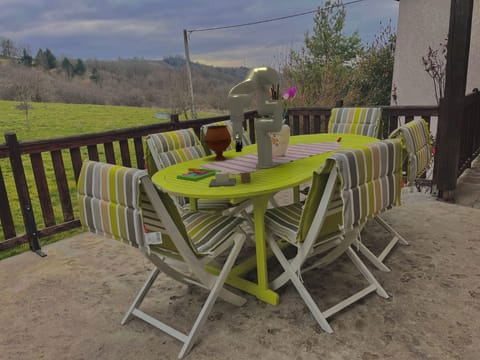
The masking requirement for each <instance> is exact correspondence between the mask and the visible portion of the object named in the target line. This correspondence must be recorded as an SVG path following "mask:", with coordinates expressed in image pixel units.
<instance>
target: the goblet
mask: <svg viewBox="0 0 480 360" xmlns="http://www.w3.org/2000/svg"><path fill="white" fill-rule="evenodd" d="M206 128H207V129H206V132H205V135H204V144H205V145H206V147H207V148H208V149H209V150H210V151H212V152H214V154H215V155H216V156H215V157H214V158H213V160H216V161H215V162H220V161H221V160H222V161H226V159H227V158H226V157H225V156H224V155H223V154H224V151H226V150H227V149H228V148H229V147H230V145H231V143H232V136H231V134H230V133H231V132H230V131H229V128H228V125H226V124H222V125H219V124H217V125H209V126H207V127H206Z"/></svg>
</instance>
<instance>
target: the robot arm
mask: <svg viewBox="0 0 480 360" xmlns="http://www.w3.org/2000/svg"><path fill="white" fill-rule="evenodd" d="M278 82H279V72H278V70H276V69H274V68H273V67H271V66H268V65H264V66H263V65H262V66H254V67H250V68H249V69H248V71H247V73H246V75H245V76H244V79H243V81H241V82H240V83H238V84H237V85H235V86H233V87H232V88H231V89H230V91H229V92H228V94H227V97H226V106H227V107H228V108H229V121H230V123H232V124H231V125H232V126H231V127H232V141H233V142H234V141H235V145H234V146H235V147H234V148H235V153H241V152H242V151H243V150H242V149H243V148H244V147H243V145H244V144H243V137H244V133H243V132H244V130H243V126H244V125H243V122H245V111H244V109H246V108H247V109H248V108H251V107H252V105H253V102H254V99H253V96H252V95H251V94H252V93H253V92H255V91H256V94H257V95H256V96H257V98H256V99H257V101H256V102H257V103H256V106H257V108H256V110H257V111H256V112H257V114H258V115H259V116H273V117H258V118H256V119H255V120H254V129H255V134H256V147H257V164H255V167H256V168H258V169H271V168H275V167H276V164H275V163H274V162H273V159H274V158H273V141H272V140H273V139H272V137H271V135H270V134H271V133H273V134H276V133H281V131H282V129H283V103H282V101H281V100H280V99H272V93H271V90H270V88H269V87H268V85H269V86H270V85H271V86H272V85H277V84H278Z"/></svg>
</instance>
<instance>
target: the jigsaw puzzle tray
mask: <svg viewBox="0 0 480 360" xmlns="http://www.w3.org/2000/svg"><path fill="white" fill-rule="evenodd" d="M187 171H188V172H187V173H182V174H179V175H176V179H177V180H184V181H190V182H198V181H201V180H205V179H208V178H210V177H213V176H215V174H216V172H222V170H220V169H214V168H213V169H212V168H206V167H203V168H195V167H188V168H187Z"/></svg>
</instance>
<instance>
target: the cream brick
mask: <svg viewBox="0 0 480 360" xmlns="http://www.w3.org/2000/svg"><path fill="white" fill-rule="evenodd" d="M214 176H215V179H216V183H226V182H229V178H230V173H229V171H221V172H216V174H215V175H214Z"/></svg>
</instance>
